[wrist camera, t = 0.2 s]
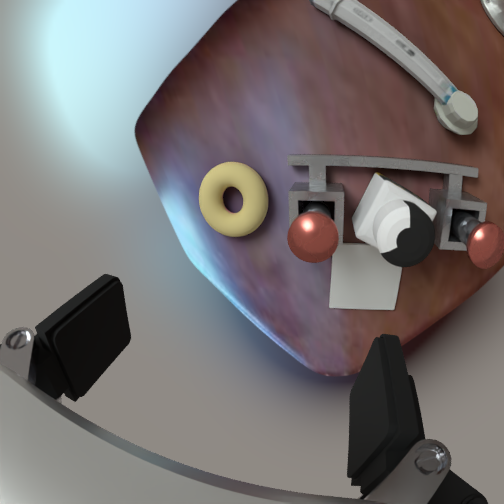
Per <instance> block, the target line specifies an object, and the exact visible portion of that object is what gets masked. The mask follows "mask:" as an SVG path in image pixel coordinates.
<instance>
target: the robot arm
mask: <svg viewBox="0 0 504 504" xmlns="http://www.w3.org/2000/svg"><path fill="white" fill-rule="evenodd" d="M481 3H482V5H483V8H484V10H485V12H486V13H487V15H488V17H489V18H490V20H491V21H492V23H493V24H494V25H495V27H496V28H497V29H498V30H499V31H500V32H501V33H502V35H503V36H504V0H481ZM35 329H36V331H37V335H35V336H34V333H33V331H32V330H30V329H28V328H23V327H22V328H16V329H14V330H12V331H10V332H9V333H7V334H6V336H5V337H4V339H3V342H2V344H0V504H488V502H487V500H486V498H485V497H484V496H483V495H482V494H481V493H479V492H478V491H477V490H476V489H474V488H473V487H472V486H470V485H469V484H468V483H466V482H465V481H464V480H462V479H461V478H460V477H459V476H457V475H456V474H455V473H453V472H452V471H451V470H450V466H451V455H450V452H449V451H448V449H447V448H446V447H445V445H443V444H442V443H441V442H439V441H437V440H432V439H425V434H424V428H423V423H422V417H421V412H420V407H419V402H418V397H417V392H416V388H415V383H414V380H413V378H412V376H411V375H408V372H407V368H406V364H405V360H404V356H403V352H402V348H401V344H400V340H399V337H398V336H395V335H388V334H382V335H381V336H380V338H378V337H376V338H375V339H374V341H373V343H372V346H371V348H370V350H369V353H368V355H367V357H366V360H365V362H364V364H363V366H362V369H361V371H360V373H359V375H358V377H357V379H356V381H355V384H354V386H353V388H352V390H351V393H350V422H349V451H348V452H349V453H348V469H347V477H348V478H352V482H351V486H361V489H360V492H361V493H362V495H361V496H360V497H359V498H358V499H352V498H342V497H333V496H322V495H313V494H305V493H298V492H292V491H286V490H280V489H275V488H269V487H264V486H259V485H255V484H250V483H246V482H241V481H237V480H233V479H230V478H226V477H222V476H218V475H215V474H212V473H209V472H205V471H202V470H199V469H196V468H193V467H190V466H187V465H184V464H182V463H179V462H176V461H173V460H171V459H168V458H166V457H163V456H160V455H158V454H156V453H153V452H151V451H148V450H146V449H144V448H142V447H139V446H137V445H135V444H133V443H131V442H129V441H127V440H125V439H122V438H120V437H118V436H116V435H114V434H113V433H111V432H109V431H107V430H105V429H103V428H101V427H99V426H97V425H96V424H94V423H92V422H90V421H89V420H87V419H85V418H83V417H82V416H80V415H78V414H77V413H75V412H73V411H72V410H70V409H69V408H67V407H65V406H64V405H62V404H61V395H62V394H63V393H64V394H65V396H66V397H68V398H70V399H71V400H73V401H75V402H76V401H77V399H78V398H79V397H82V396H84V395H85V394H86V393H87V391H88V390H89V389H90V388H91V387H92V385H93V384H94V383H95V382H96V381H97V380H98V379H99V377H100V376H101V375H102V374H103V373H104V371H105V370H106V369H107V368H108V367H109V366H110V364H111V363H112V362H113V361H114V360H115V359H116V358H117V356H118V355H119V354H120V353H121V352H122V351H123V350H124V349H125V347H126V346H127V345H128V344H129V342H130V339H131V333H130V328H129V322H128V317H127V311H126V304H125V298H124V291H123V285H122V283H121V282H120V280H119V278H118V277H115V276H112V275H108V274H104V275H103V276H101V277H100V278H98V279H97V280H95V281H94V282H93V283H91V284H90V285H89V286H87V287H86V288H85V289H83V290H82V291H81V292H79V293H78V294H77V295H75V296H74V297H73V298H71V299H70V300H69V301H68V302H66V303H65V304H63V305H62V306H61V307H60V308H58V309H57V310H56V311H55V312H53V313H52V314H51V315H49V316H48V317H47V318H46V319H44V320H43V321H42V322H41V323H39V324H38V325H37V326H36V327H35Z"/></svg>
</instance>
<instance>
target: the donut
mask: <svg viewBox="0 0 504 504" xmlns="http://www.w3.org/2000/svg"><path fill="white" fill-rule="evenodd" d="M230 186H233V187H236V188H237V189H238V190H239V191H240V192H241V194H242V196H243V207H242V209H241V211H239V212H238V213H232V212H230V211H229V210H227V208H226V207H225V205H224V203H223V193H224V191H225V189H226V188H228V187H230ZM199 204H200V208H201V212H202V214H203V216H204V218H205V220H206V221H207V222H208V224H209V225H210V226H211V227H212V228H213V229H214V230H216V231H217V232H219V233H221V234H223V235H226V236H231V237H240V236H245V235H247V234H250V233H251V232H253V231H254V230H256V229H257V228H258V227H259V226H260V225H261V223H262V222H263V220H264V218H265V216H266V213H267V210H268V192H267V188H266V186H265V183H264V181H263V180H262V178H261V177H260V175H259V174H258V173H257V172H256V171H255V170H254V169H252V168H251V167H249V166H247V165H245V164H243V163H239V162H226V163H222V164H219V165H217V166H215V167H214V168H213V169H211V170H210V171H209V172H208V173H207V175H206V176H205V178H204V179H203V181H202V184H201V187H200V191H199Z"/></svg>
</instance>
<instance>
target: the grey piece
mask: <svg viewBox="0 0 504 504" xmlns="http://www.w3.org/2000/svg"><path fill="white" fill-rule="evenodd" d="M309 1H310V3H311V5H313V6H314V7H316V8H318V9H319V10H321V11H323V12H325V13H326V14H328V15H329V16H330V19H331V20H338V21H339V22H341V23H342V24H344V25H346V26H347V27H349V28H350V29H352V30H353V31H355V32H356V33H358V34H359V35H361V36H362V37H364V38H365V39H366V40H368V41H369V42H371V43H372V44H373V45H375V46H376V47H377V48H379V49H380V50H381V51H383V52H384V53H385V54H387V55H388V56H389V57H390V58H392V59H393V60H394V61H395V62H397V63H398V64H399V65H400V66H401V67H403V68H404V69H405V70H406V71H407V72H409V73H410V74H411V75H412V76H413V77H414V78H415V79H416V80H418V81H419V82H420V83H421V84H422V85H423V86H424V87H425V88H426V89H427V90H428V91H429V92H430V93H431V94H432V95H433V96H434V97H435V100H434V111H435V113H436V115H437V118H438V121H439V122H440V123H441V124H442V125H443V127H444V128H446V129H448V130H450V131H452V132H454V133H457V134H459V135H466V134H471V133H472V132H473V131H474V130H475V129H476V128H477V121H478V109H477V107H476V104H475V102H474V101H473V100H472V98H471V97H470V96H469V95H467V94H465V93H463V92H461V91H459V90H458V89H457V88H456V87H455V86H454V85H453V84H452V83H451V81H450V80H449V79H448V78H447V77H446V76H445V75H444V74H443V73H442V72H441V71H440V70H439V69H438V68H437V67H436V66H435V65H434V64H433V63H432V62H431V61H430V60H429V59H428V58H427V57H426V56H425V55H424V54H423V53H422V52H421V51H420V50H419V49H418V48H417V47H416V46H414V45H413V44H412V43H411V42H410V41H409V40H408V39H407V38H405V37H404V36H403V35H402V34H401V33H399V32H398V31H397V30H396V29H395V28H393V27H392V26H391V25H390V24H388V23H387V22H386V21H384V20H383V19H382V18H381V17H379V16H378V15H377V14H375V13H374V12H372V11H371V10H370V9H368V8H367V7H365V6H364V5H362V4H361V3H360V2H358V1H357V0H309Z"/></svg>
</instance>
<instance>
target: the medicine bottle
mask: <svg viewBox="0 0 504 504" xmlns="http://www.w3.org/2000/svg"><path fill="white" fill-rule="evenodd" d="M436 214H437V212H436V210H435V209H434V208H433V207H432V206H430V205H429V204H428V203H427V202H425V201H424V200H423V199H421V198H420V197H419V196H417V195H416V194H414V193H412V192H411V191H409V190H407V189H406V188H404V187H403V186H401V185H399V184H397V183H396V182H394V181H392V180H391V179H389V178H387V177H385V176H384V175H382V174H380V173H378V172H376V173H375V174H374V175H373V177H372V179H371V181H370V183H369V185H368V187H367V189H366V191H365V193H364V195H363V197H362V199H361V201H360V203H359V205H358V207H357V209H356V211H355V213H354V214H353V216H352V222H353V226H354V231H355V235H356V237H357V238H358V239H360V240H362V241H364V242H366V243H368V244H370V245H371V246H373V247H375V248H377V249H379V251H380V253H381V255H382V257H383V258H384V259H385V260H386V261H387V262H389V263H390V264H392V265H394V266H398V267H410V266H414V265H416V264H418V263H420V262H421V261H423V260H424V259H425V258H426V257H427V256H428V254H429V253H430V251H431V250H432V248H433V245H434V241H435V228H434V225H433V222H432V221H433V219H434V218H435V216H436Z"/></svg>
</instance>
